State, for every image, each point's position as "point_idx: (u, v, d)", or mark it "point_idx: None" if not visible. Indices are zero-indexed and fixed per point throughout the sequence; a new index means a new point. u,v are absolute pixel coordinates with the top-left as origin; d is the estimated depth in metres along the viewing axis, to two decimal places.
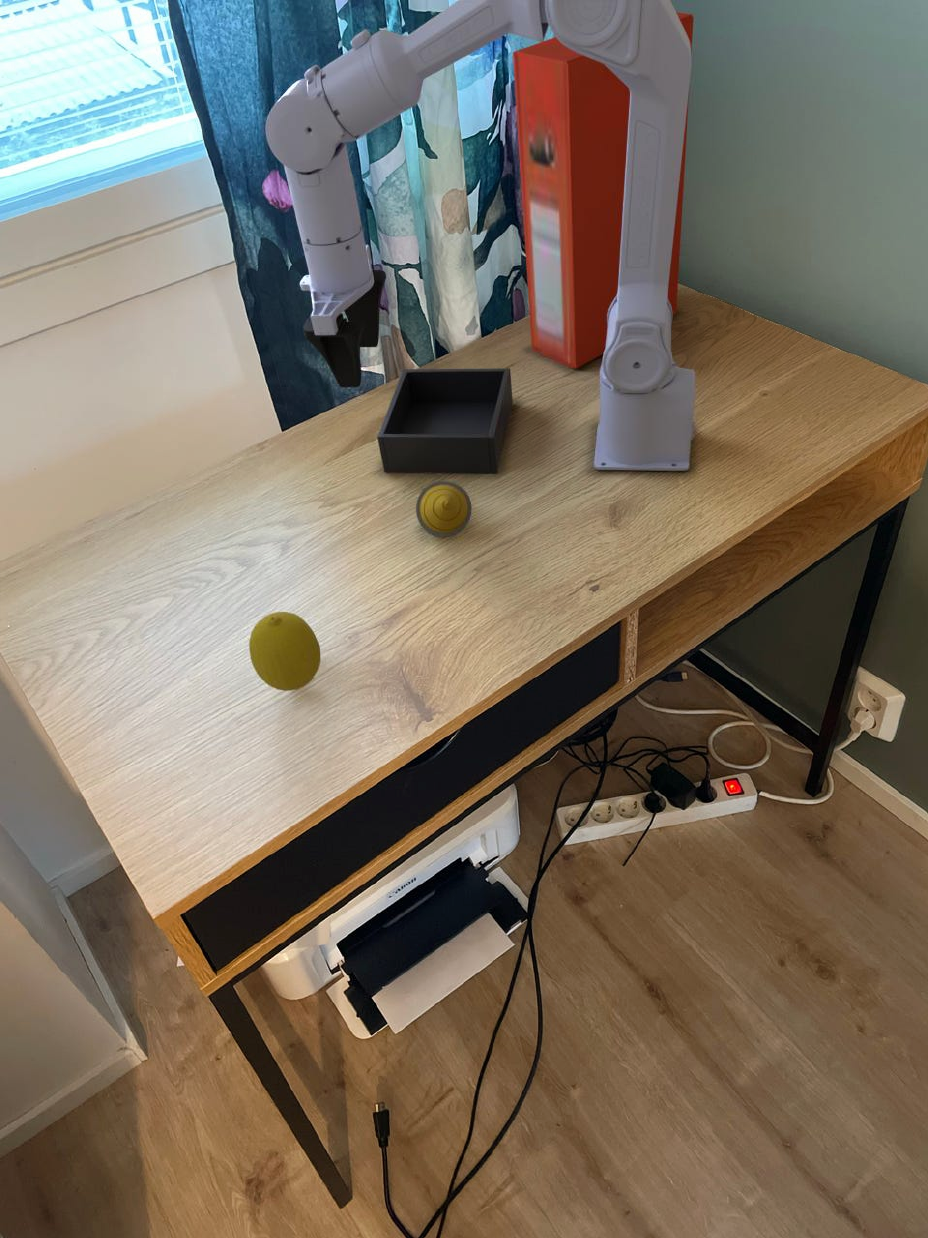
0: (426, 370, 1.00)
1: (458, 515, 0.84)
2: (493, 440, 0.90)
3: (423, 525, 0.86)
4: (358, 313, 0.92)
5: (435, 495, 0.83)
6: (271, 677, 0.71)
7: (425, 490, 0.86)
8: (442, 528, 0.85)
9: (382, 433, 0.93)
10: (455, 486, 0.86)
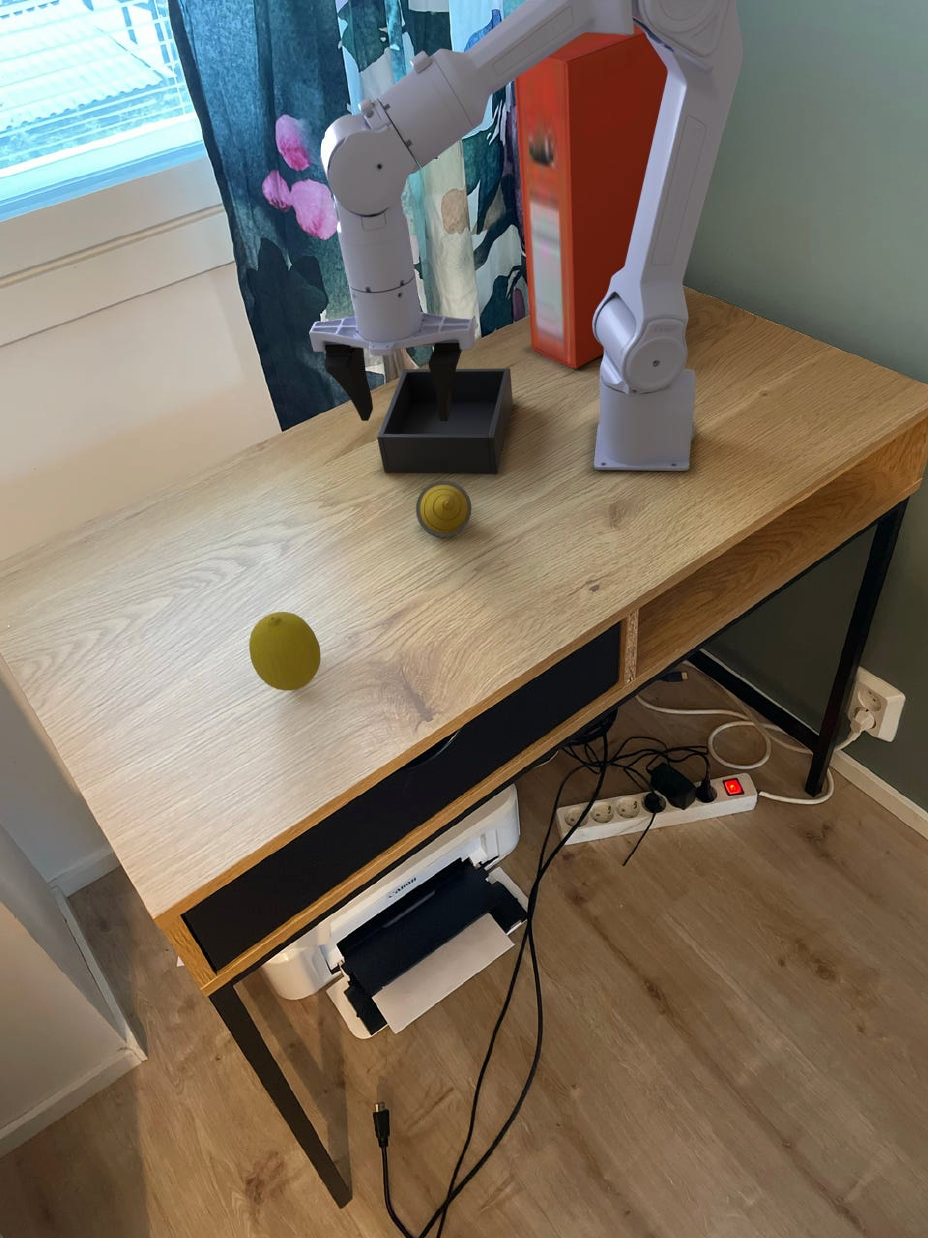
0: (426, 370, 1.00)
1: (458, 515, 0.84)
2: (493, 440, 0.90)
3: (423, 525, 0.86)
4: (360, 382, 0.83)
5: (435, 495, 0.83)
6: (271, 677, 0.71)
7: (425, 490, 0.86)
8: (442, 528, 0.85)
9: (382, 433, 0.93)
10: (455, 486, 0.86)
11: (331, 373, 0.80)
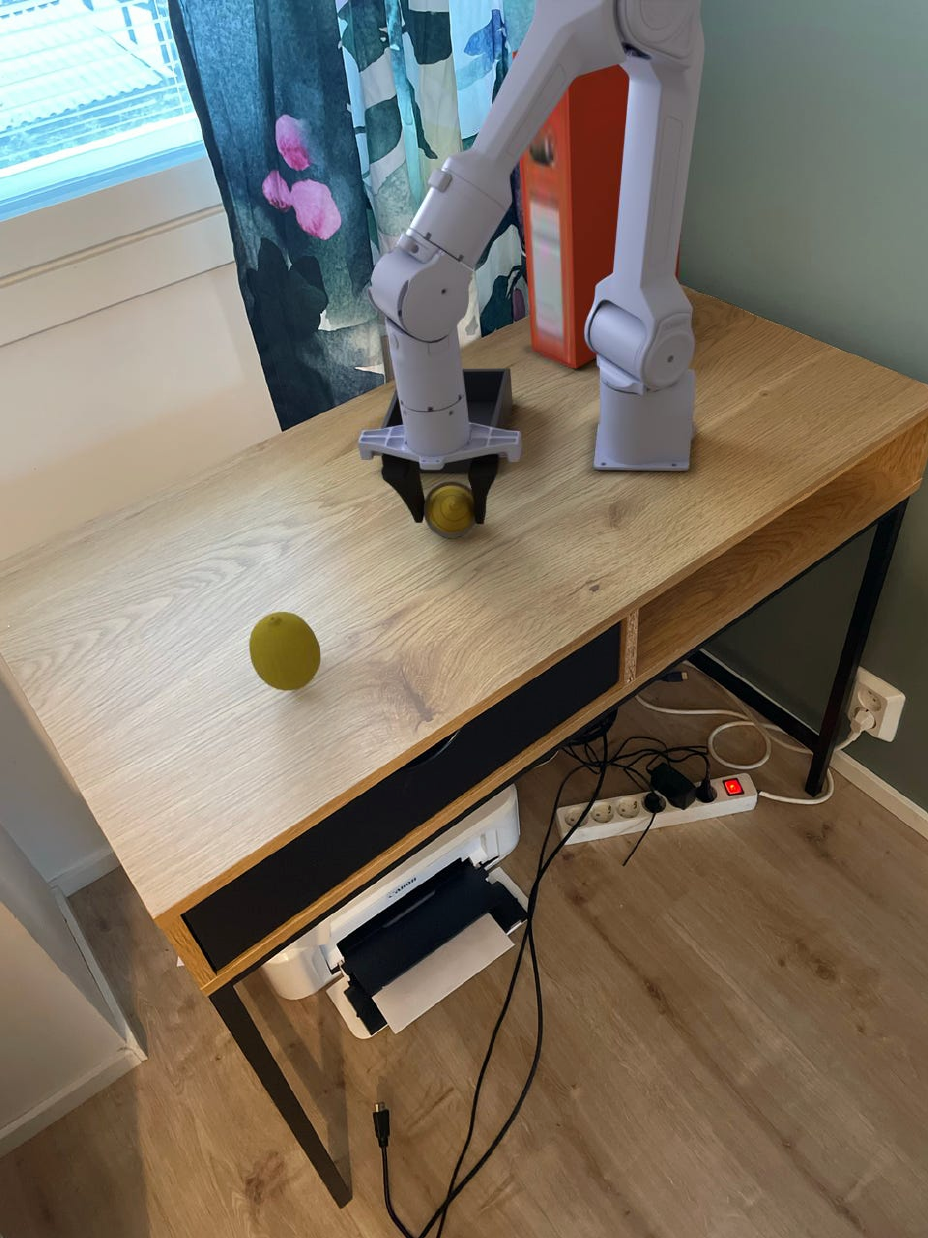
0: None
1: (465, 516, 0.84)
2: None
3: (430, 525, 0.86)
4: (416, 487, 0.84)
5: (443, 496, 0.83)
6: (271, 677, 0.71)
7: (433, 490, 0.86)
8: (449, 529, 0.85)
9: None
10: (463, 487, 0.86)
11: (388, 482, 0.81)
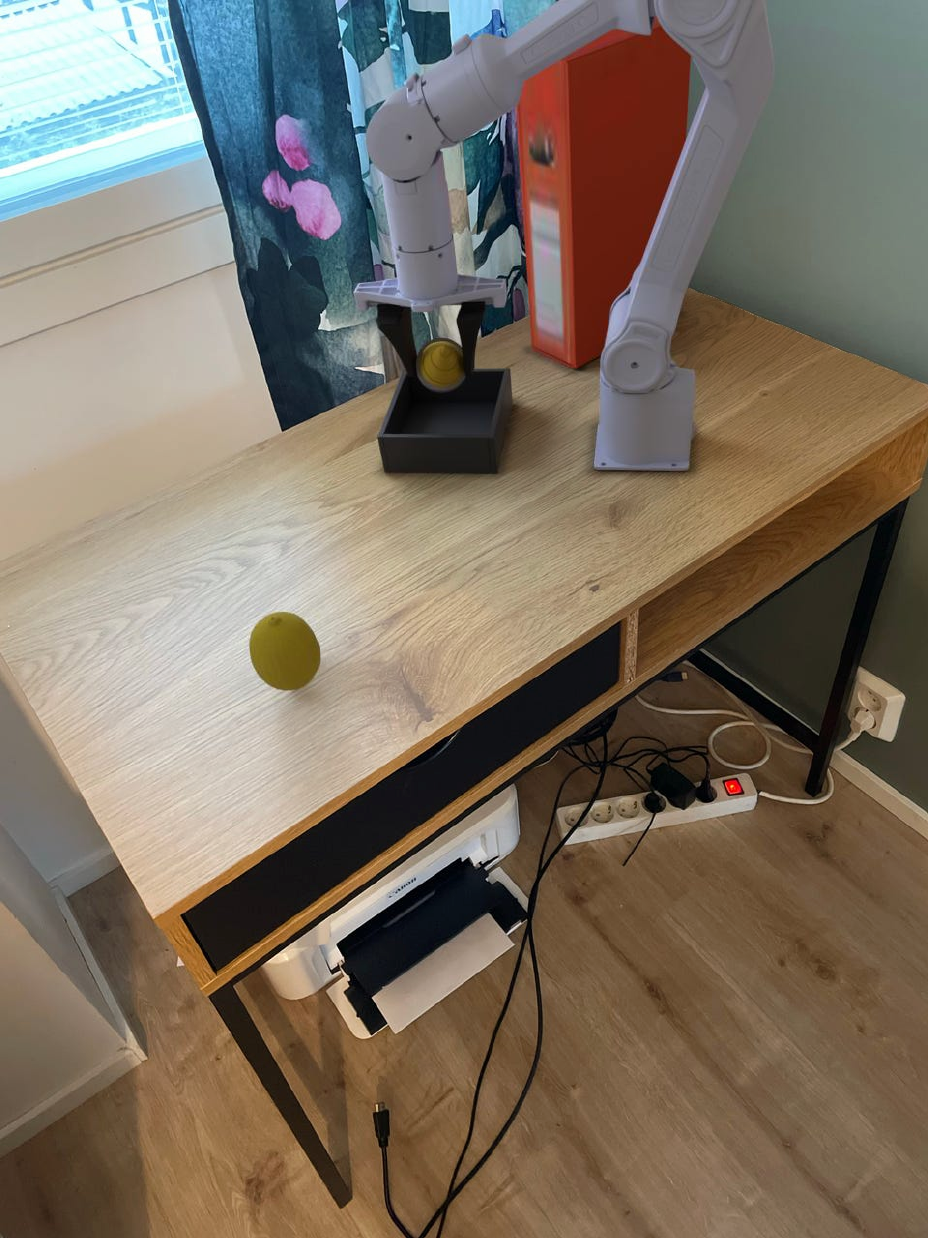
0: None
1: (455, 367, 0.89)
2: (493, 440, 0.90)
3: (422, 379, 0.91)
4: (408, 340, 0.89)
5: (433, 347, 0.89)
6: (271, 677, 0.71)
7: (425, 346, 0.91)
8: (439, 381, 0.91)
9: (382, 433, 0.93)
10: (453, 343, 0.91)
11: (383, 330, 0.87)
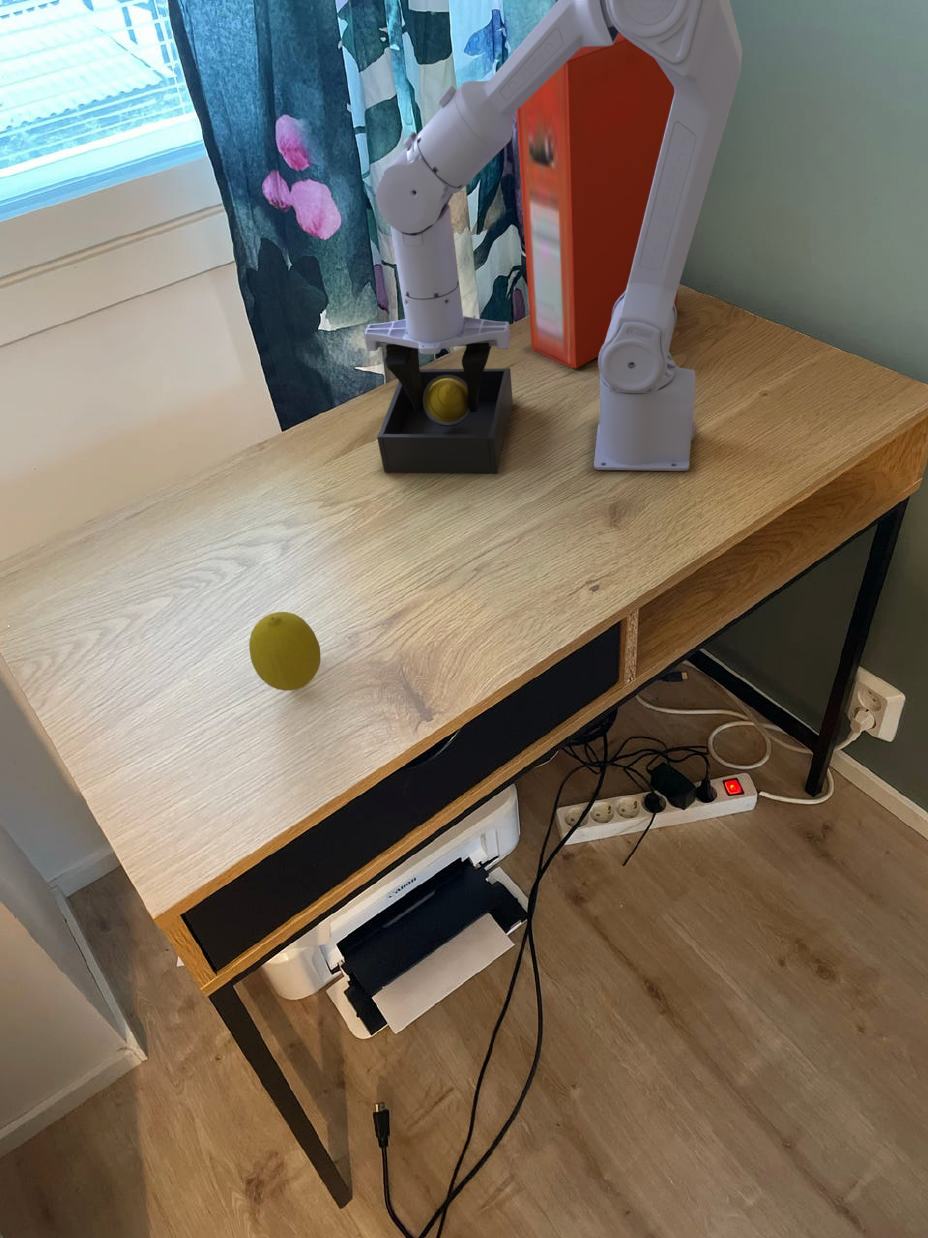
0: (426, 370, 1.00)
1: (460, 403, 0.94)
2: (493, 440, 0.90)
3: (429, 414, 0.96)
4: (416, 378, 0.94)
5: (440, 384, 0.93)
6: (271, 677, 0.71)
7: (431, 382, 0.96)
8: (445, 416, 0.95)
9: (382, 433, 0.93)
10: (458, 380, 0.96)
11: (391, 369, 0.91)
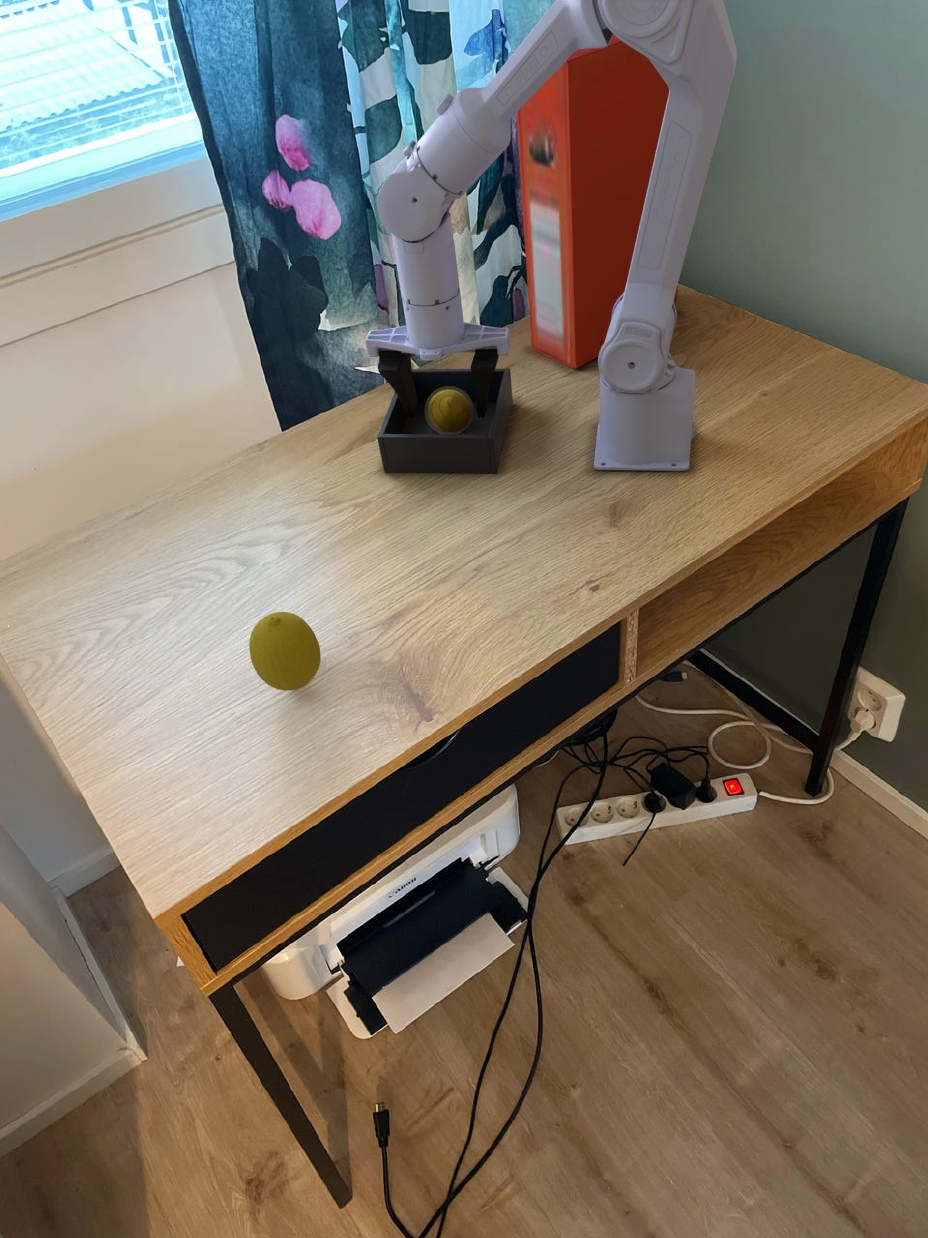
0: (426, 370, 1.00)
1: (461, 414, 0.95)
2: (493, 440, 0.90)
3: (430, 425, 0.97)
4: (408, 383, 0.94)
5: (441, 396, 0.94)
6: (271, 677, 0.71)
7: (433, 394, 0.97)
8: (447, 427, 0.96)
9: (382, 433, 0.93)
10: (459, 391, 0.97)
11: (384, 375, 0.92)
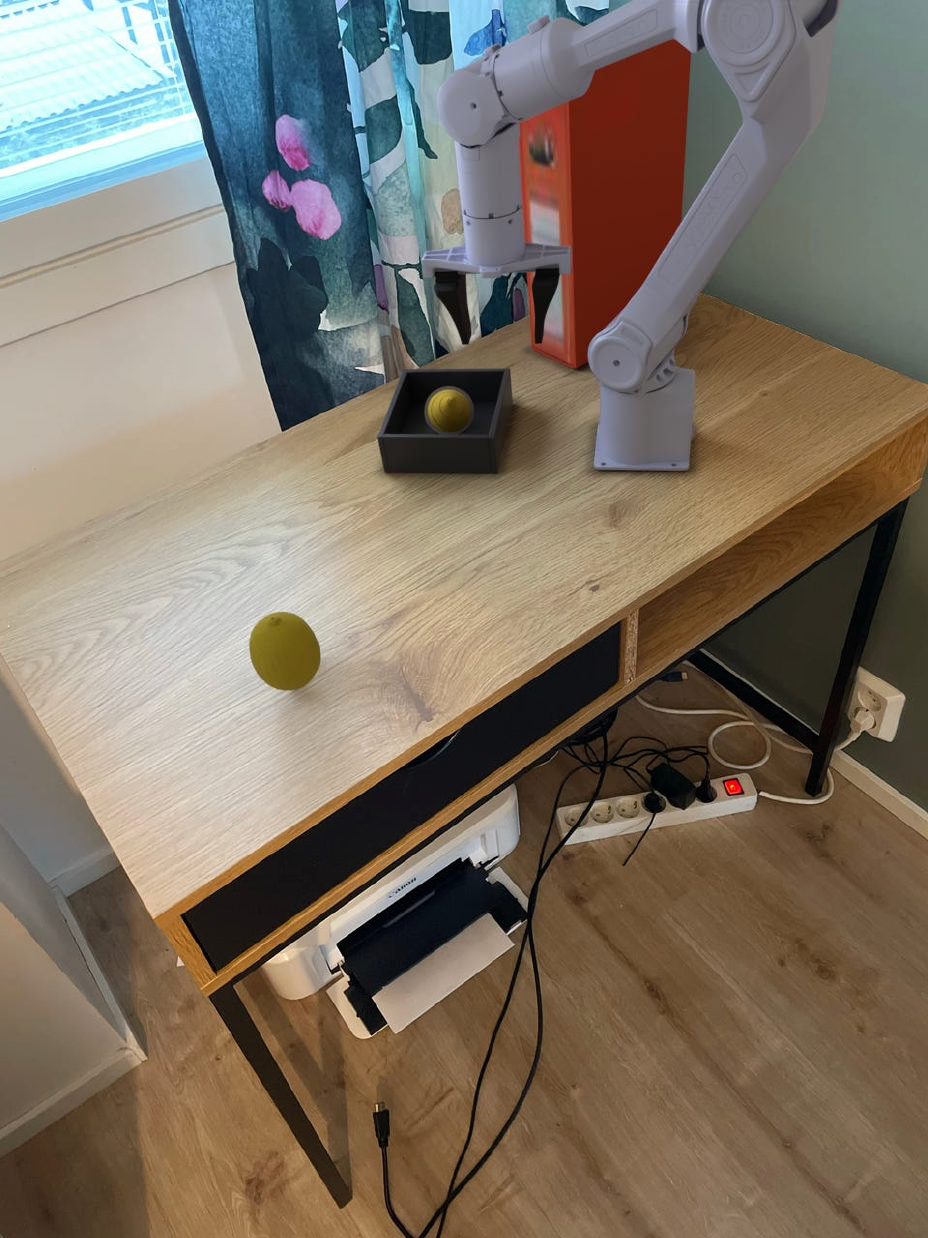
0: (426, 370, 1.00)
1: (461, 414, 0.95)
2: (493, 440, 0.90)
3: (430, 425, 0.97)
4: (464, 308, 0.92)
5: (441, 396, 0.94)
6: (271, 677, 0.71)
7: (433, 394, 0.97)
8: (447, 427, 0.96)
9: (382, 433, 0.93)
10: (459, 391, 0.97)
11: (440, 297, 0.89)
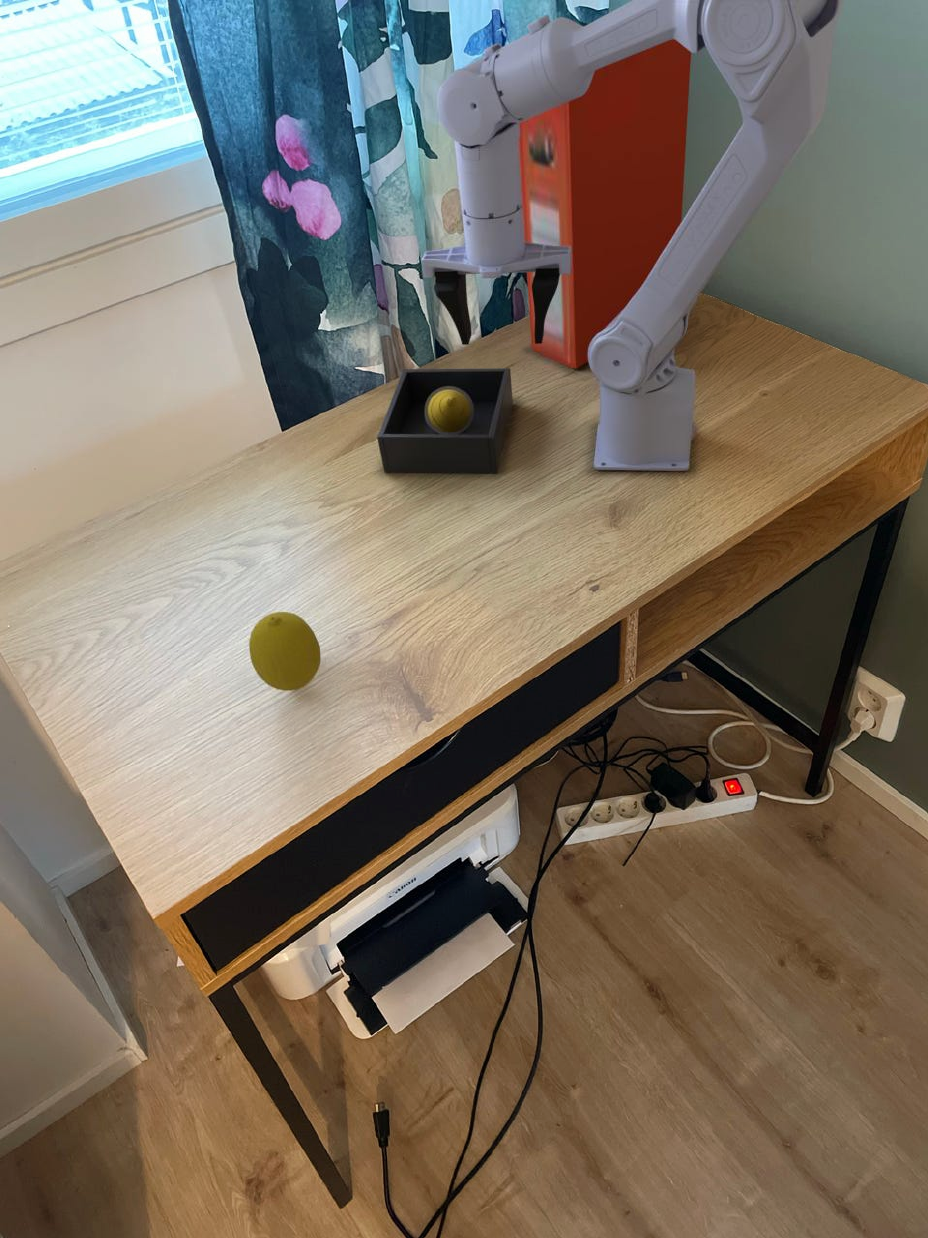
0: (426, 370, 1.00)
1: (461, 414, 0.95)
2: (493, 440, 0.90)
3: (430, 425, 0.97)
4: (464, 308, 0.92)
5: (441, 396, 0.94)
6: (271, 677, 0.71)
7: (433, 394, 0.97)
8: (447, 427, 0.96)
9: (382, 433, 0.93)
10: (459, 391, 0.97)
11: (440, 297, 0.89)
